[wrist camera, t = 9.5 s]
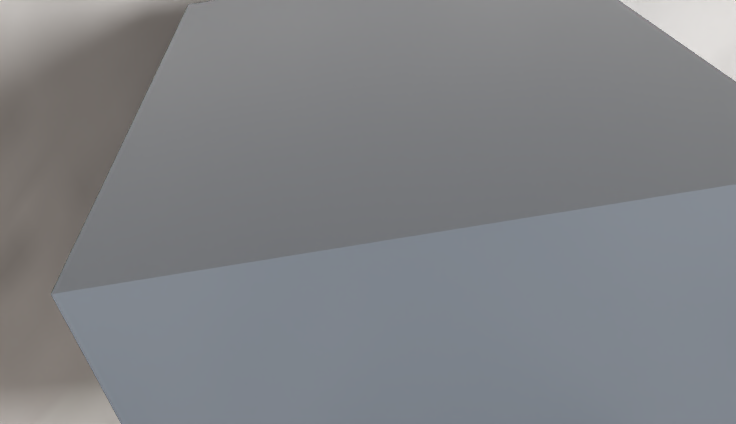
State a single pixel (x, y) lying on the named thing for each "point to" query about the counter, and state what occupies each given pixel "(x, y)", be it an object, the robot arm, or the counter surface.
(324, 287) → the matte grey box
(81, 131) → the counter surface
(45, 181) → the counter surface
